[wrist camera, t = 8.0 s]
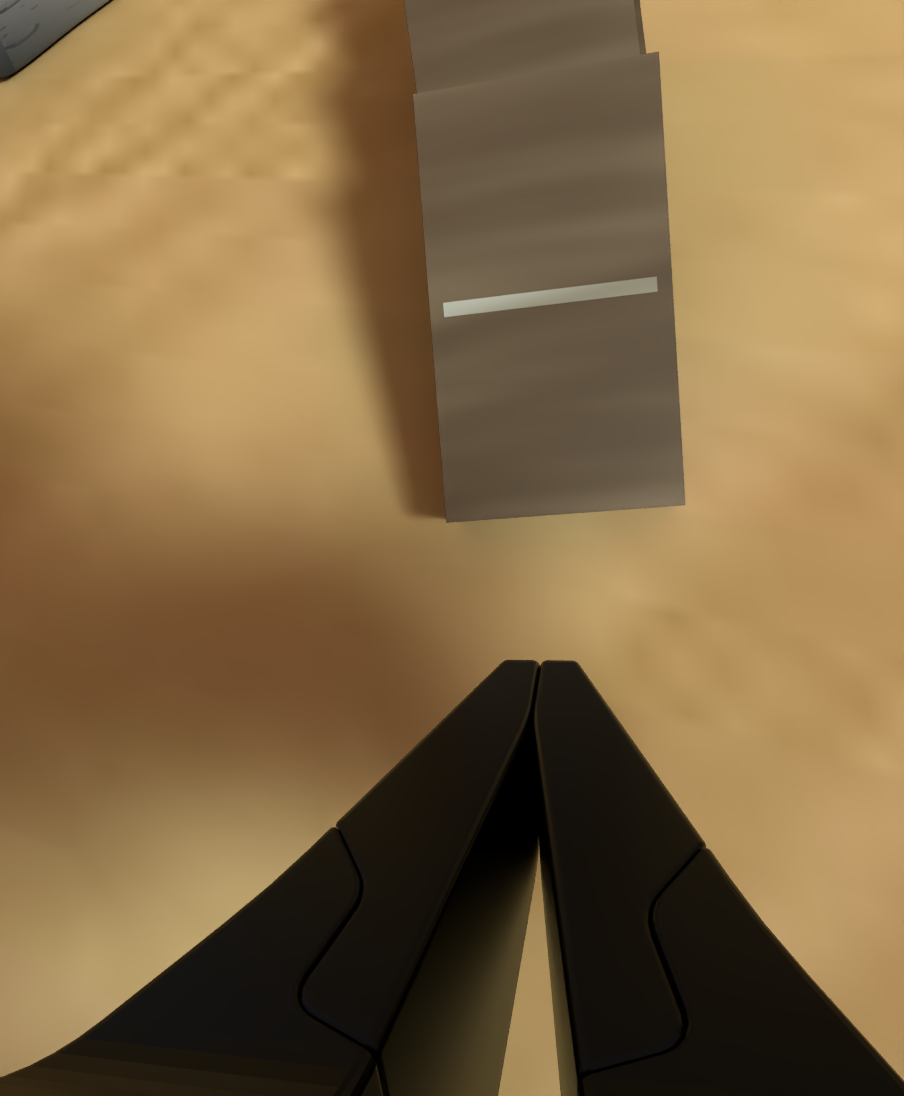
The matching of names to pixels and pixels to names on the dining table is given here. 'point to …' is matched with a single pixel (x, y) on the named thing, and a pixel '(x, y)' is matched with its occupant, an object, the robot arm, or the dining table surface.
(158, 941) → the dining table surface
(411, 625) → the dining table surface
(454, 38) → the domino
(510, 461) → the domino
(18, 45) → the juice carton
